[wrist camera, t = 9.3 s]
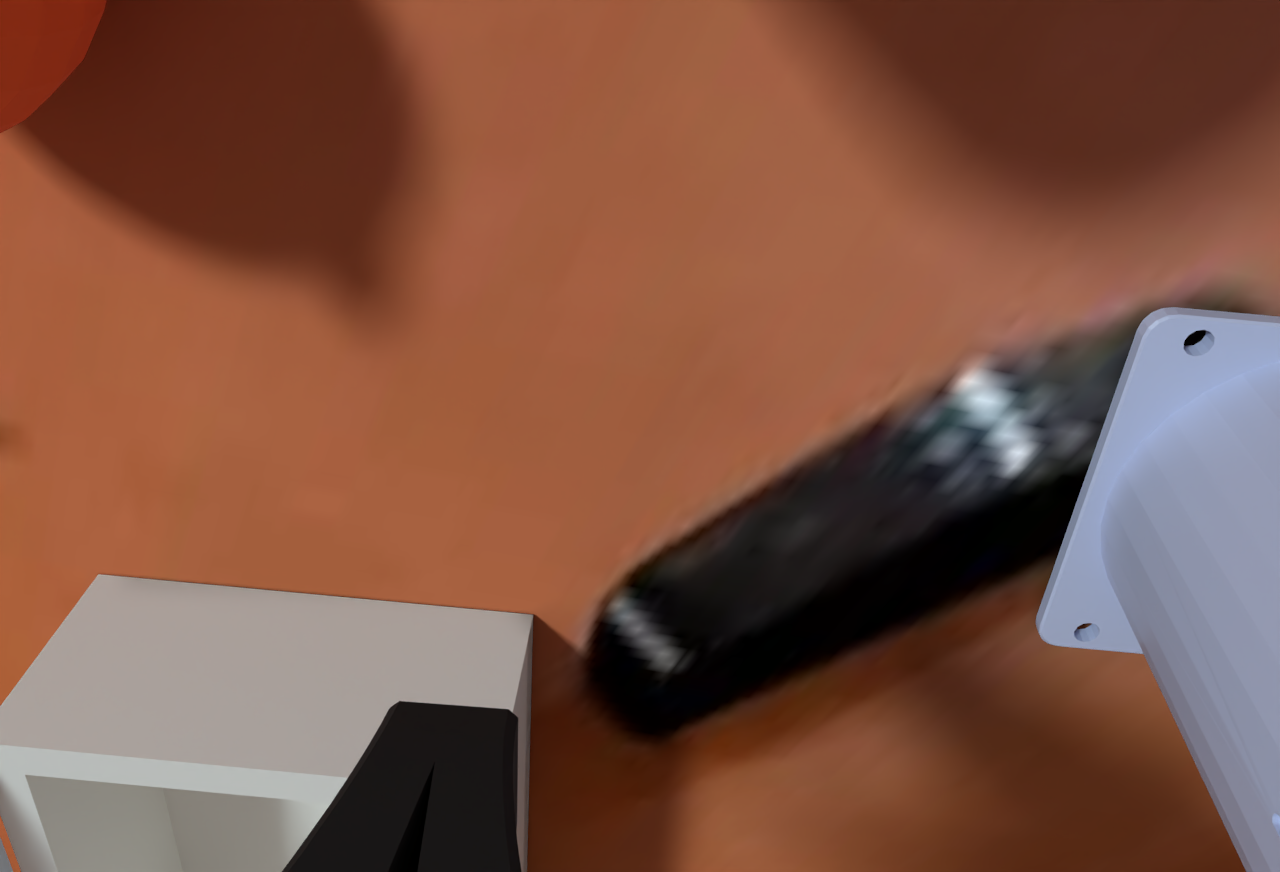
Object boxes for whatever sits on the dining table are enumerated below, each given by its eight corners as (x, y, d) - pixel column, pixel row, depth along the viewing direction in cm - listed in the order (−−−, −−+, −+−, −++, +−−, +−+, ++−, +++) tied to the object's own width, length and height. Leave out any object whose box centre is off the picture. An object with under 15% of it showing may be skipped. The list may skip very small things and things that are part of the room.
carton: (533, 614, 25) (496, 792, 21) (525, 930, 31) (496, 1114, 27) (98, 574, 25) (-27, 742, 21) (179, 897, 31) (96, 1075, 27)
